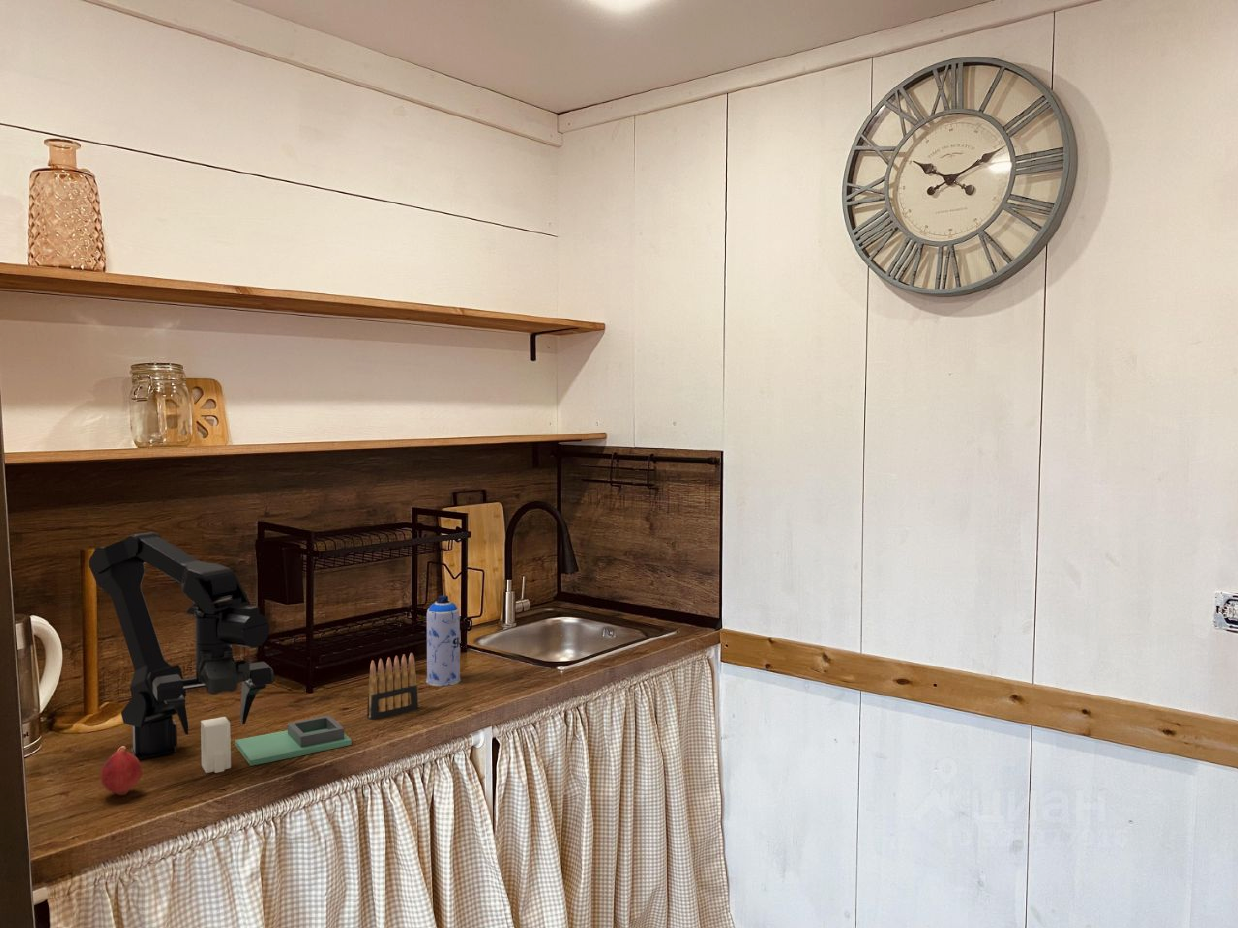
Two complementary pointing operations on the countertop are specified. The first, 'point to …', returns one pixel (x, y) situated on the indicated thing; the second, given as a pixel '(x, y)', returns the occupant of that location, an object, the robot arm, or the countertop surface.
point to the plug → (216, 744)
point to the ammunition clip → (392, 689)
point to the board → (294, 741)
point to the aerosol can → (443, 643)
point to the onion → (121, 772)
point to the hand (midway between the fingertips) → (215, 728)
